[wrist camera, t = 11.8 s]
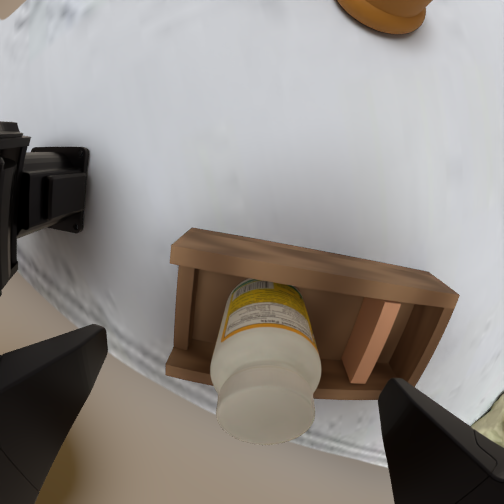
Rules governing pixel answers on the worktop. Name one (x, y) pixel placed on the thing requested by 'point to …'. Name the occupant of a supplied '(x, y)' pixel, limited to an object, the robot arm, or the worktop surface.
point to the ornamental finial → (388, 14)
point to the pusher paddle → (368, 337)
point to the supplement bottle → (265, 364)
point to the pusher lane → (316, 302)
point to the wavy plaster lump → (493, 423)
